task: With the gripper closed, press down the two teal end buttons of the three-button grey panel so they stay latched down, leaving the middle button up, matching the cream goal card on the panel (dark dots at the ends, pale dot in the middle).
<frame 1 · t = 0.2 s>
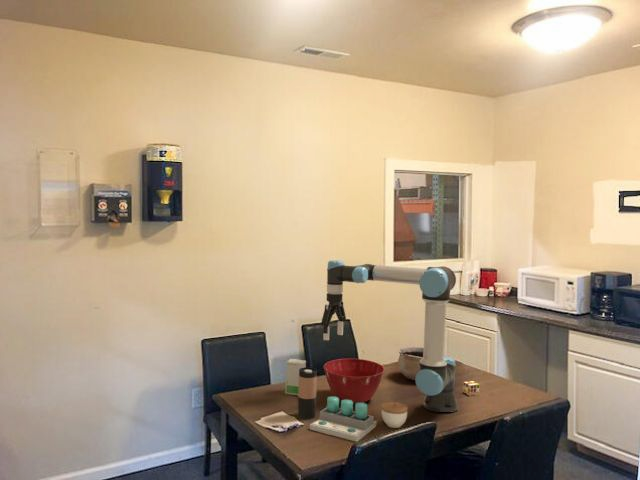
hand: (333, 337, 253), 28 cm above the table, tool pointing down, fingers open, 13 cm apart
skincare box: (295, 393, 256), on the table
ceramic bowl: (418, 379, 284), on the table
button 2: (346, 407, 217), point 8 cm above the table, slide at 0.0 cm
mixing bowl: (352, 399, 250), on the table
lidded jar: (393, 425, 220), on the table
button panel: (343, 427, 215), on the table
button 1: (361, 410, 214), point 8 cm above the table, slide at 0.0 cm
button 3: (332, 404, 221), point 8 cm above the table, slide at 0.0 cm
rubik's cube: (471, 394, 262), on the table
travel mug: (306, 416, 227), on the table
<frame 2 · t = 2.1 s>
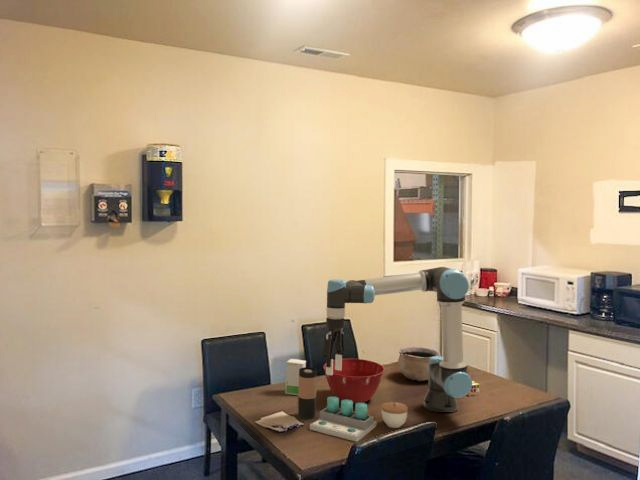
hand: (333, 372, 220), 21 cm above the table, tool pointing down, fingers open, 7 cm apart
nothing on the table moved.
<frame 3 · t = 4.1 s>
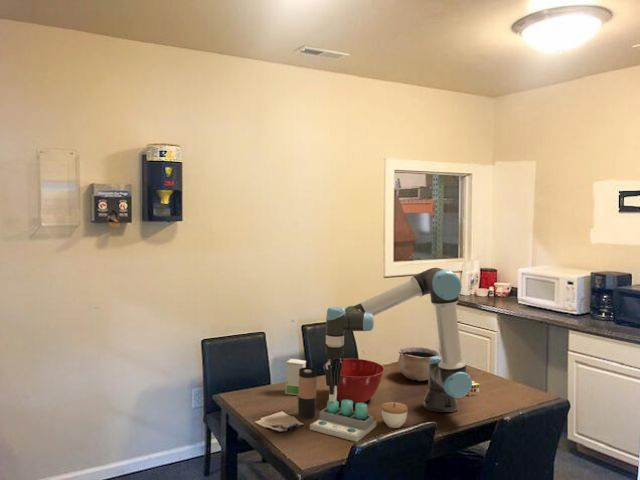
hand: (332, 401, 220), 9 cm above the table, tool pointing down, fingers closed
button 3: (332, 407, 221), point 6 cm above the table, slide at 1.5 cm, touching gripper
everything else where it was.
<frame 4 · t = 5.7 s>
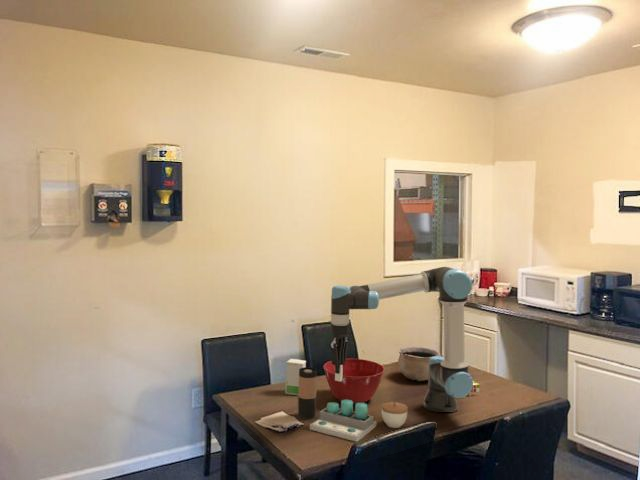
hand: (338, 380, 219), 18 cm above the table, tool pointing down, fingers closed
button 3: (332, 410, 221), point 5 cm above the table, slide at 2.5 cm
everything else where it was.
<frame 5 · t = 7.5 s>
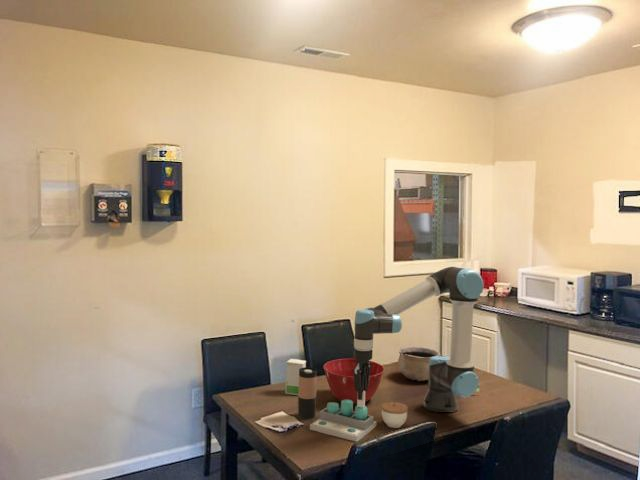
hand: (361, 406, 214), 9 cm above the table, tool pointing down, fingers closed
button 1: (361, 413, 214), point 7 cm above the table, slide at 1.1 cm, touching gripper
everything else where it was.
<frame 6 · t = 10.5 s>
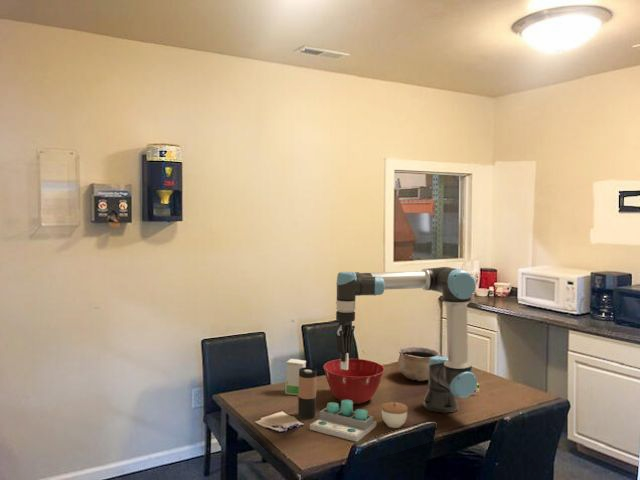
hand: (344, 369, 213), 24 cm above the table, tool pointing down, fingers closed
button 1: (361, 417, 214), point 5 cm above the table, slide at 2.5 cm
everything else where it was.
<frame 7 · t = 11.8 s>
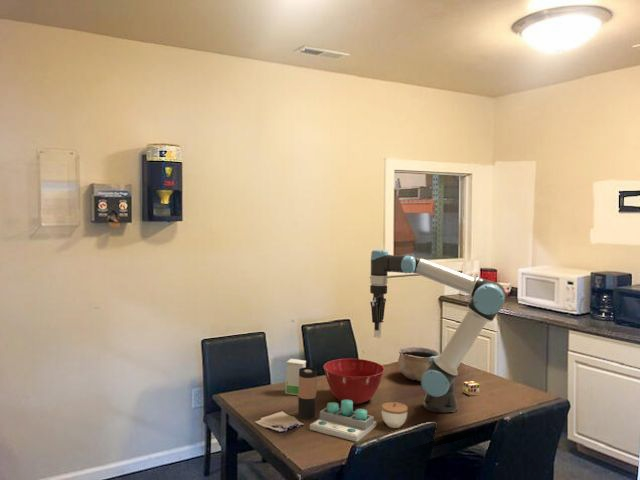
hand: (377, 337, 238), 32 cm above the table, tool pointing down, fingers closed
nothing on the table moved.
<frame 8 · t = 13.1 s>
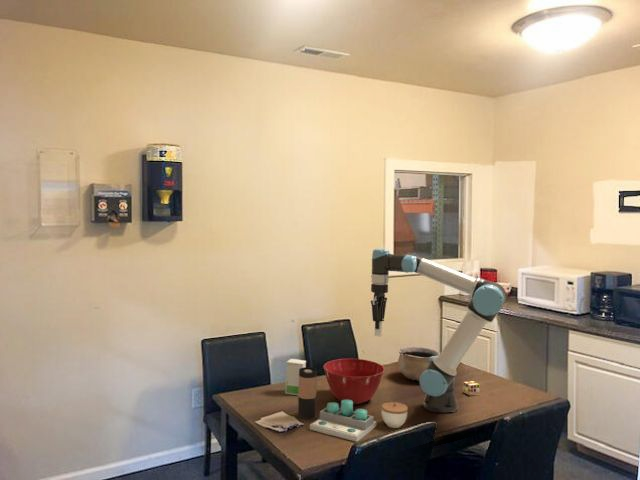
hand: (377, 335, 239), 32 cm above the table, tool pointing down, fingers closed
nothing on the table moved.
at the end: button 3 slide at 2.5 cm; button 1 slide at 2.5 cm; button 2 slide at 0.0 cm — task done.
